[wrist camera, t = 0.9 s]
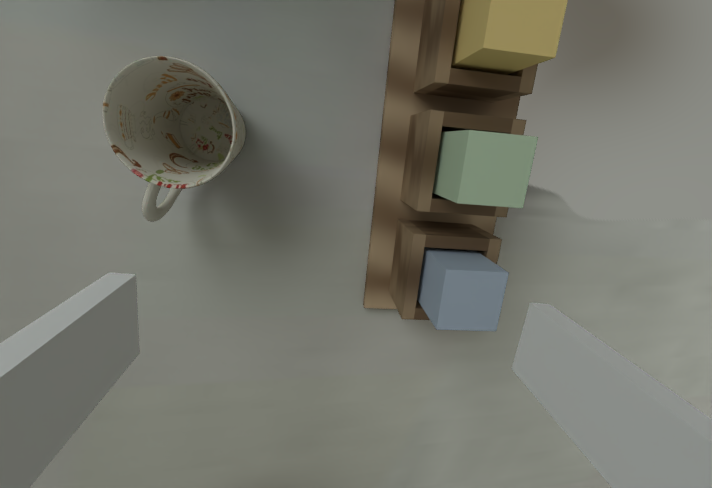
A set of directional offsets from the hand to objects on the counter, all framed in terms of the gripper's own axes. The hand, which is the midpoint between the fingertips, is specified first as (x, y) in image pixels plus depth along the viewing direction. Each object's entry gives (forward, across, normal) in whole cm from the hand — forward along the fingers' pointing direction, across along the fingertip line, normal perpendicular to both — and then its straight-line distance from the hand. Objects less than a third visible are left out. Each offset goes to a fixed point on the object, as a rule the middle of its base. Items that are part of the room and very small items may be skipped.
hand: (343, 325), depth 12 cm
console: (+25, +11, +5) cm, 28 cm away
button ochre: (+21, +11, +15) cm, 28 cm away
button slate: (+20, +12, -5) cm, 24 cm away
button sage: (+21, +11, +5) cm, 24 cm away
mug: (+25, -12, +3) cm, 28 cm away
